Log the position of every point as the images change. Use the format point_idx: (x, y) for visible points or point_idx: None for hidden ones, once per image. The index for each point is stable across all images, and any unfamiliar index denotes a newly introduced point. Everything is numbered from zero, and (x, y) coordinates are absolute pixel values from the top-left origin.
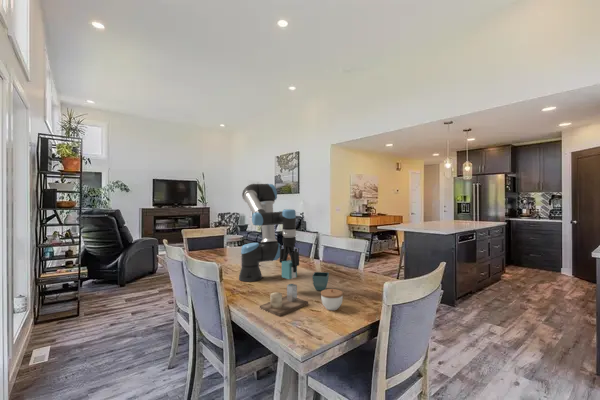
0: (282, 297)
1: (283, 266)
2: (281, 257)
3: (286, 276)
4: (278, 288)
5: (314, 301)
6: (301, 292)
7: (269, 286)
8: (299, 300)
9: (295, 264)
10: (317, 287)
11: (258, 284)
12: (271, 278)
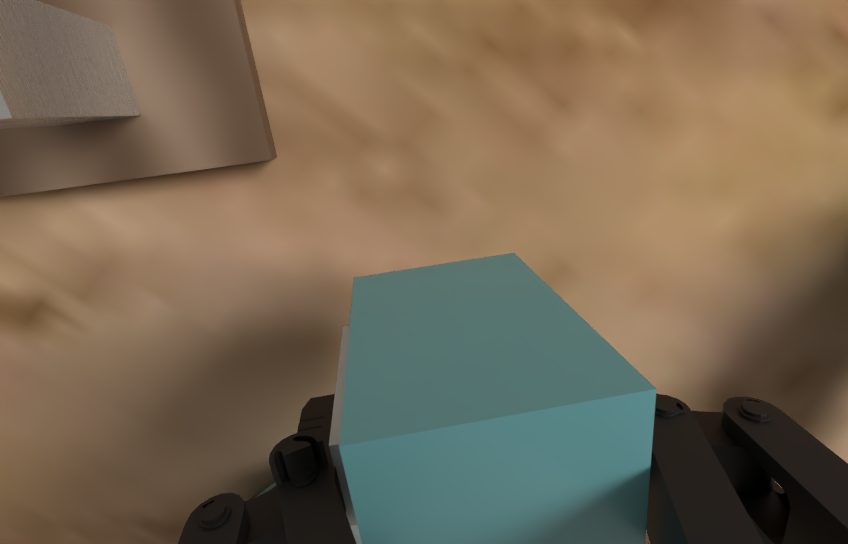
0: (245, 56)
1: (531, 339)
2: (824, 520)
3: (415, 279)
4: (574, 249)
5: (38, 292)
6: (336, 343)
7: (681, 217)
8: (39, 145)
9: (216, 531)
10: (274, 485)
11: (808, 169)
12: (817, 355)
